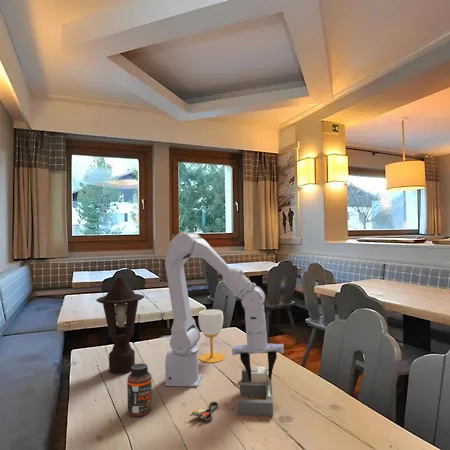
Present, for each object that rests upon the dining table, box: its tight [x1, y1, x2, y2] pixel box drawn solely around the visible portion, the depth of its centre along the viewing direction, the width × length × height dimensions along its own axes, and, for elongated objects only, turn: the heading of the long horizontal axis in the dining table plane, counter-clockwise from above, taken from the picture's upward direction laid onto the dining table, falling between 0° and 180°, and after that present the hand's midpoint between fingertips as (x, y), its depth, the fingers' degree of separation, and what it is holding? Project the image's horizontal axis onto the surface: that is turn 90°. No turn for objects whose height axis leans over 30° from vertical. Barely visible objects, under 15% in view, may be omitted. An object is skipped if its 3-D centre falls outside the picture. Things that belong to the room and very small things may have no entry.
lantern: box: [95, 276, 145, 375], centre depth 117 cm, size 15×15×30 cm
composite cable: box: [189, 401, 219, 423], centre depth 88 cm, size 10×5×2 cm, turn 147°
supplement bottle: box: [126, 362, 153, 417], centre depth 90 cm, size 6×6×11 cm
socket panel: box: [237, 368, 274, 416], centre depth 97 cm, size 8×20×3 cm, turn 174°
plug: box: [250, 365, 267, 383], centre depth 101 cm, size 4×5×5 cm
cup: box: [197, 308, 226, 364], centre depth 125 cm, size 9×9×16 cm
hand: (260, 379), depth 101 cm, fingers open, 5 cm apart
